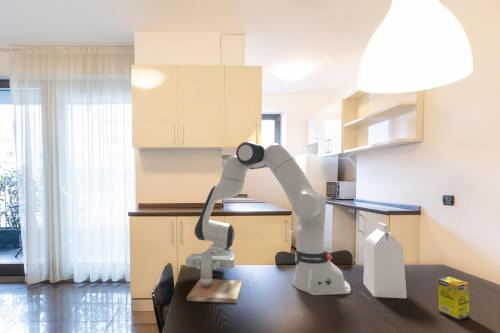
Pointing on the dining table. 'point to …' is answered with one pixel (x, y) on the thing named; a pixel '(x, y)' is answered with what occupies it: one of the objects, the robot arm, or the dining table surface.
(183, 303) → the dining table surface
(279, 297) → the dining table surface
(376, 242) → the milk
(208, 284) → the grey-green rectangular block
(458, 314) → the supplement box
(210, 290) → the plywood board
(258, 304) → the dining table surface
